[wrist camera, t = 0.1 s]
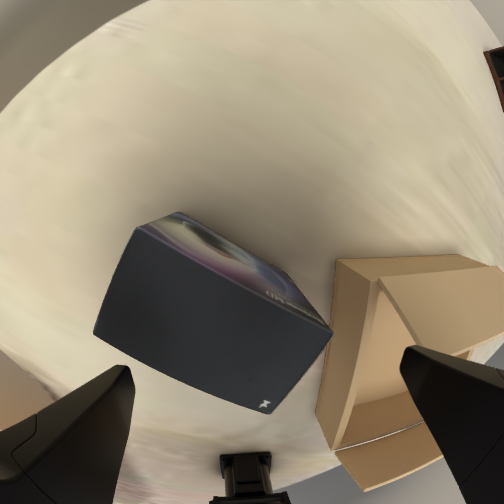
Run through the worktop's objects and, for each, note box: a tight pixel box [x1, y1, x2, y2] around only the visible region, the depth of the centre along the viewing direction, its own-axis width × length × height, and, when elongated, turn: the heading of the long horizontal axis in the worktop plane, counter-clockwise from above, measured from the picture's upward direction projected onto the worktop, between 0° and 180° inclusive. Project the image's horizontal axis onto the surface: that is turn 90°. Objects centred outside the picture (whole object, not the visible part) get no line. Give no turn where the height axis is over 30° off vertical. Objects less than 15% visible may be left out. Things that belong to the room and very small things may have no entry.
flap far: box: [335, 422, 444, 492], centre depth 18 cm, size 7×15×1 cm
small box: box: [93, 212, 334, 415], centre depth 17 cm, size 11×6×10 cm, turn 59°
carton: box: [315, 255, 489, 451], centre depth 22 cm, size 18×16×6 cm
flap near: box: [377, 266, 504, 356], centre depth 14 cm, size 7×15×1 cm
